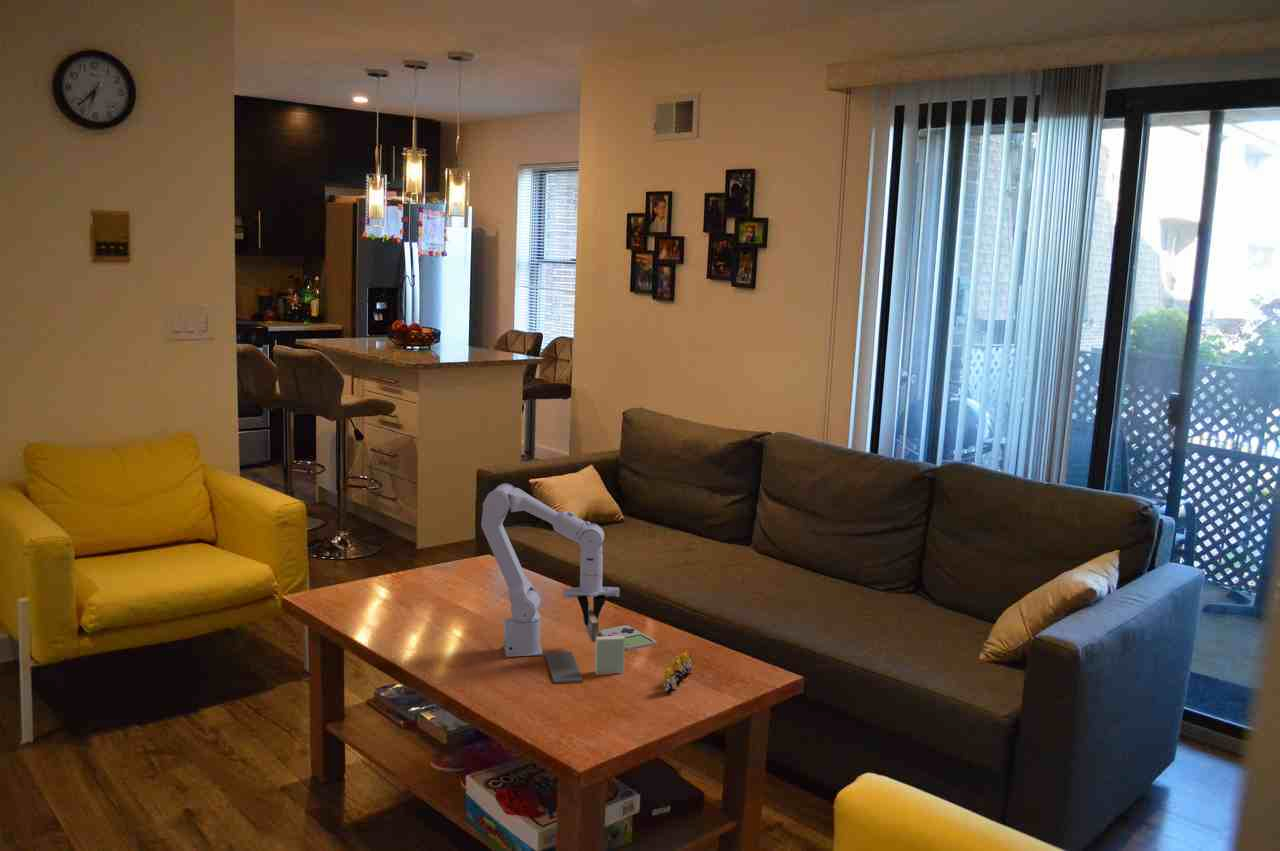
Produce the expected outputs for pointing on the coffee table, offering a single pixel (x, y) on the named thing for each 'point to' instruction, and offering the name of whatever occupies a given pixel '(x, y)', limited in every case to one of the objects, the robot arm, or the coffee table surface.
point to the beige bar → (592, 624)
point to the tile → (609, 654)
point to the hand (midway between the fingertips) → (590, 623)
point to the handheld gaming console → (630, 637)
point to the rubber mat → (563, 667)
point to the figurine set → (677, 672)
